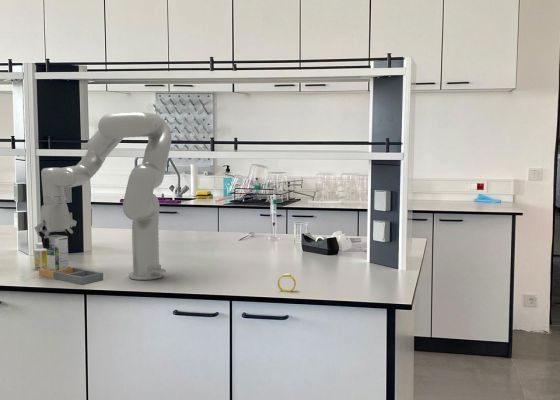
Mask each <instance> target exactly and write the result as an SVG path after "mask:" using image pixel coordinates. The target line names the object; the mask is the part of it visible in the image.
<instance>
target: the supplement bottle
mask: <svg viewBox="0 0 560 400" xmlns="http://www.w3.org/2000/svg"><path fill="white" fill-rule="evenodd" d="M33 253H34V269H35V270H36V271H39V269H40V268H45V267H47V252H46V249H44V248H43V245H42V241H41V242H36V243H35V248H34V250H33Z"/></svg>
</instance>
